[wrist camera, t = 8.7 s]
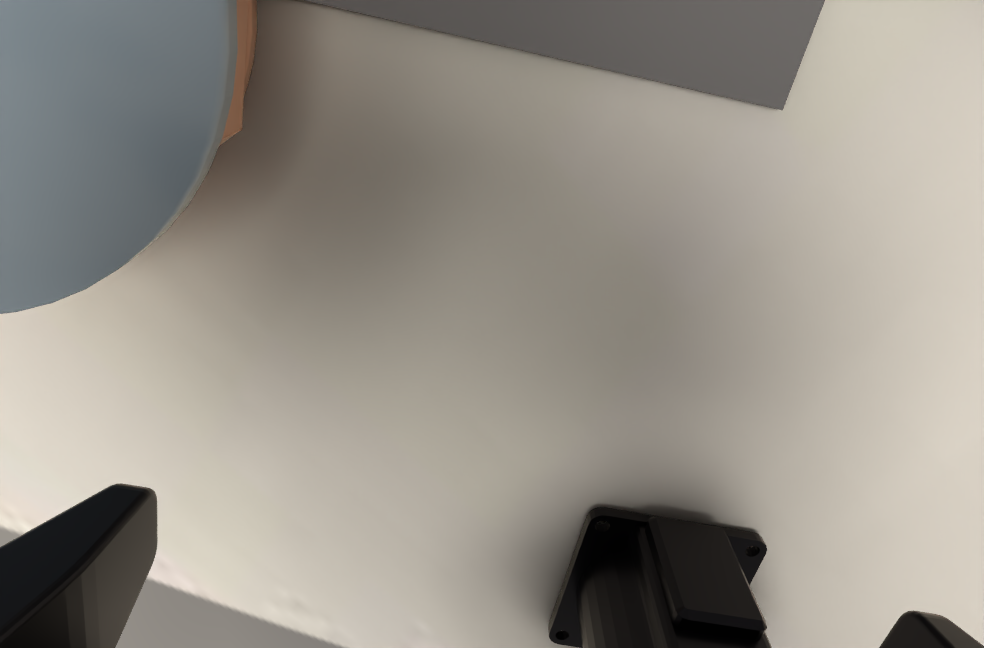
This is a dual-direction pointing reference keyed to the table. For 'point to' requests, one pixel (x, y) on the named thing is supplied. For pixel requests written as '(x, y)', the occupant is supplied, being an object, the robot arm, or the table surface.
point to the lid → (103, 132)
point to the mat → (636, 36)
